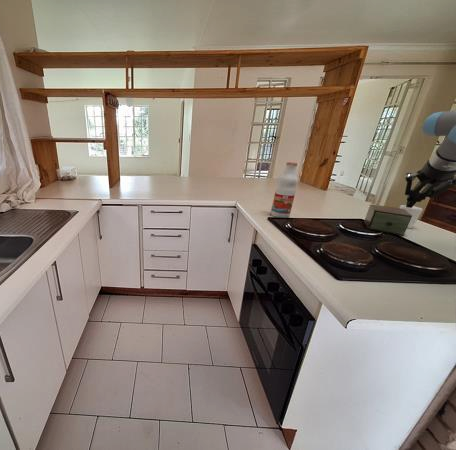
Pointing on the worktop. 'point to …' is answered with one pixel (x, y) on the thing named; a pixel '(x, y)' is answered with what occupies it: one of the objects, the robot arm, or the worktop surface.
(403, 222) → the drawer
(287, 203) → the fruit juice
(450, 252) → the worktop surface
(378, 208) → the cabinet
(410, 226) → the white cup
